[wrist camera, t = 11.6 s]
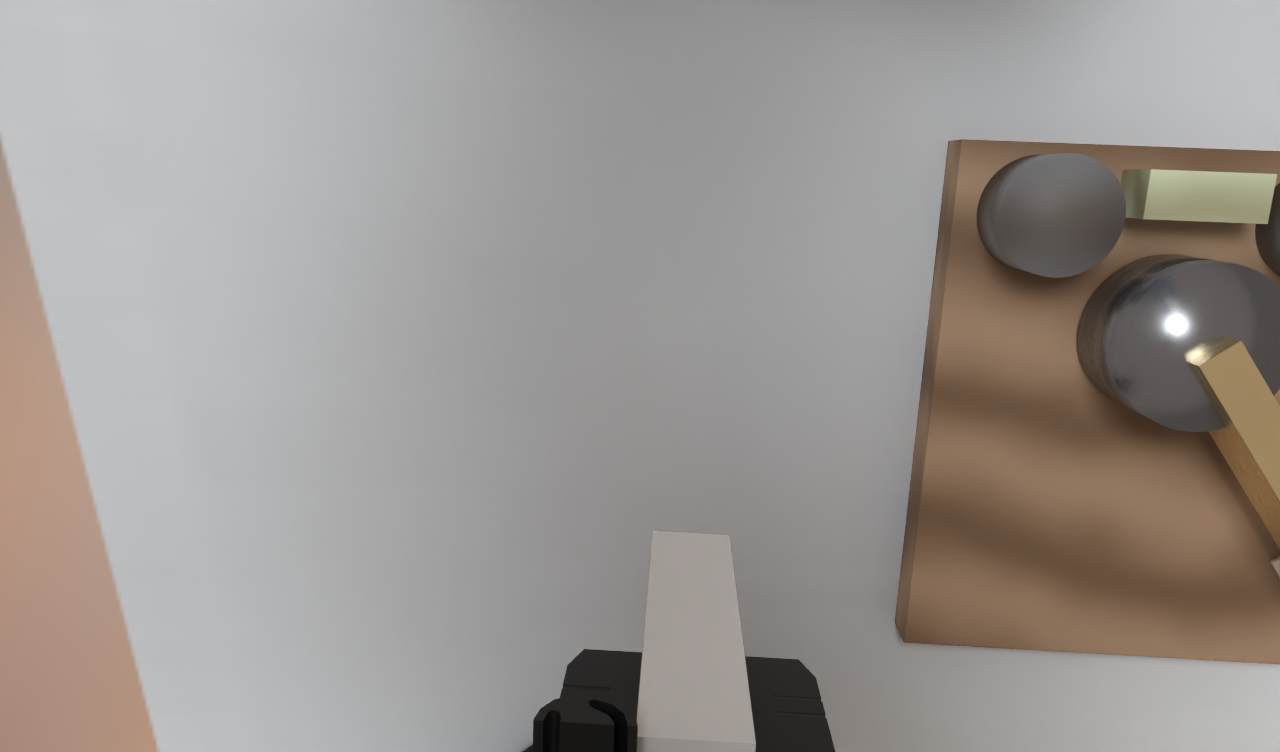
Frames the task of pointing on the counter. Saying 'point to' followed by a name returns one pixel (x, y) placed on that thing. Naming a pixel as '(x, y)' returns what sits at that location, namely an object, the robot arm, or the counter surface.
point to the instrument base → (1078, 416)
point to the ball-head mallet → (1195, 359)
